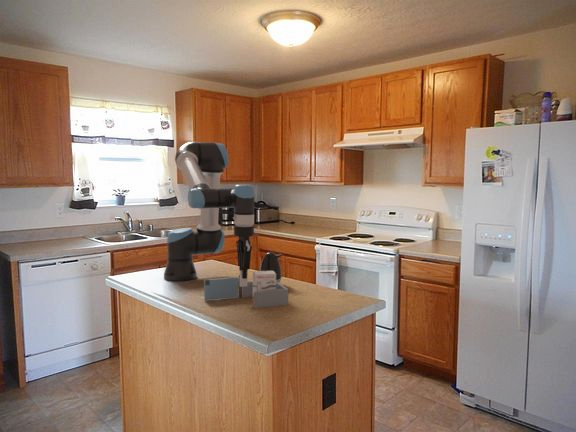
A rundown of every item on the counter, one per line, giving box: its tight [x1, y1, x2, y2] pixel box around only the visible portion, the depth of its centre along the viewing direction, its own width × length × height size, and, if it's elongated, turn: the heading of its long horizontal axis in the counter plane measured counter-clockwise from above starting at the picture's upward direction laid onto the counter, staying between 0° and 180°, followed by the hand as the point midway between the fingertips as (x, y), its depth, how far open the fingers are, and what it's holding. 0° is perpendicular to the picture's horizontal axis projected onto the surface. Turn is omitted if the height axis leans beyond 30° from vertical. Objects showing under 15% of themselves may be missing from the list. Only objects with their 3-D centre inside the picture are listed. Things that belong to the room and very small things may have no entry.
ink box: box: [252, 270, 276, 302], centre depth 162 cm, size 9×5×12 cm, turn 103°
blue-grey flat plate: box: [203, 276, 239, 301], centre depth 166 cm, size 13×1×8 cm, turn 112°
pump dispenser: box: [259, 251, 283, 283], centre depth 188 cm, size 10×10×15 cm
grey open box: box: [238, 274, 289, 309], centre depth 164 cm, size 16×15×9 cm
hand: (243, 286), depth 162 cm, fingers closed
